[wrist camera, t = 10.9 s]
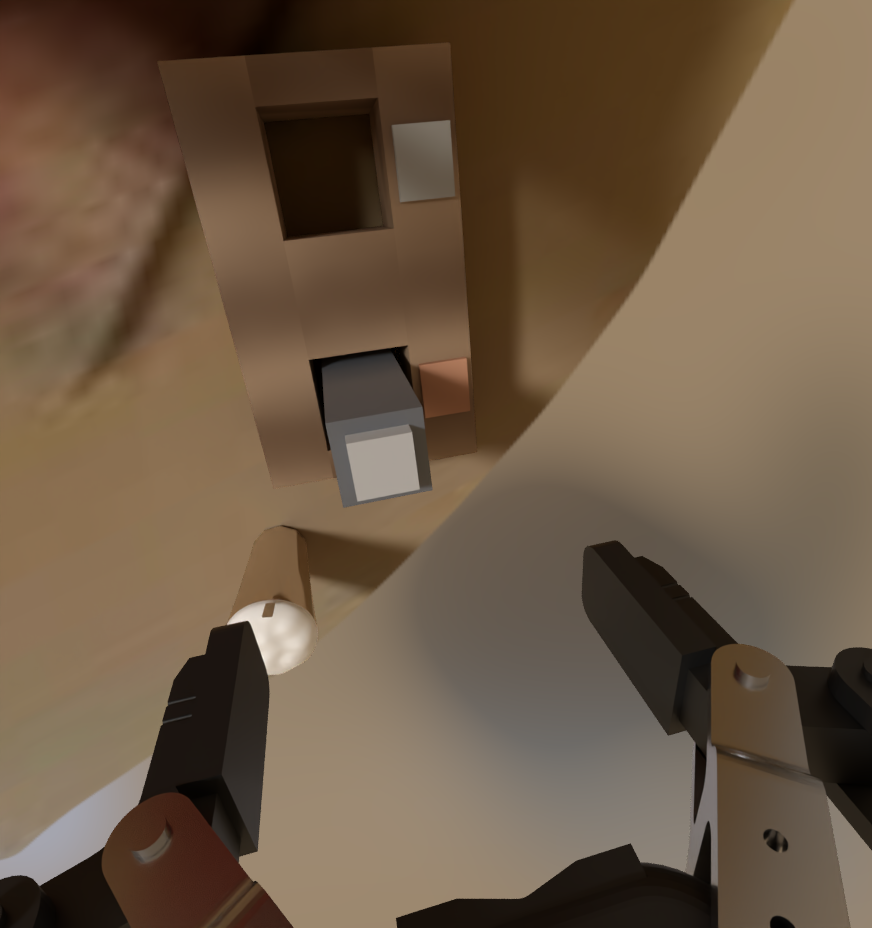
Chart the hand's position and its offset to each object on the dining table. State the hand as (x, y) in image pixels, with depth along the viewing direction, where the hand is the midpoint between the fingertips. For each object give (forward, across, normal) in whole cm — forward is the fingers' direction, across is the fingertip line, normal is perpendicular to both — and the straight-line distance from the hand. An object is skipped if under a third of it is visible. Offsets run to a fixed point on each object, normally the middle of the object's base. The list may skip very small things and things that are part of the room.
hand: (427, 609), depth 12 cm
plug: (+20, 0, 0) cm, 20 cm away
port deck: (+20, 0, -5) cm, 20 cm away
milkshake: (+20, +6, +10) cm, 23 cm away
